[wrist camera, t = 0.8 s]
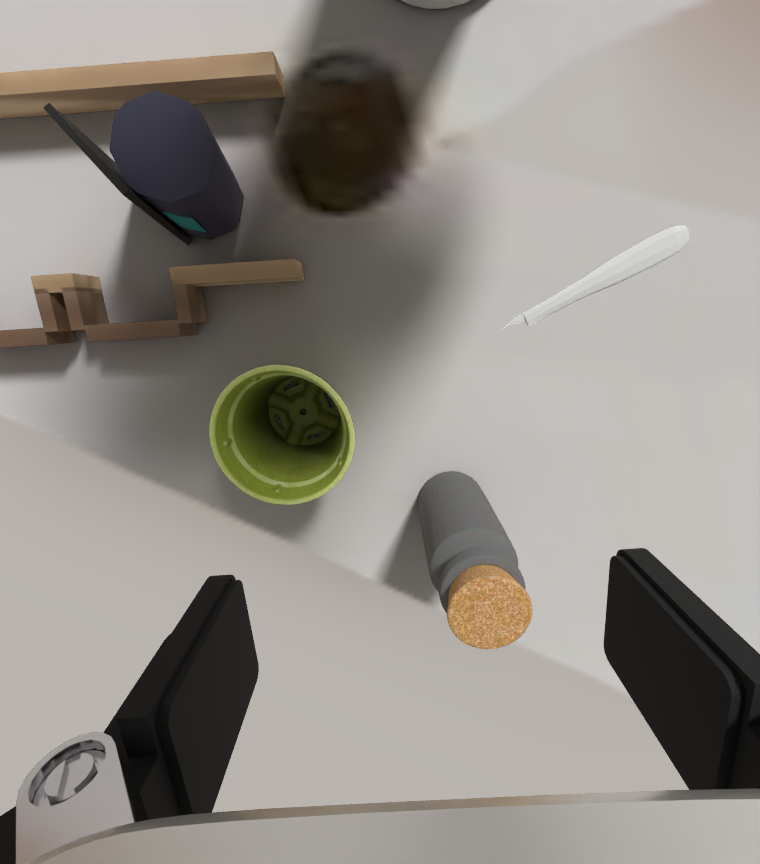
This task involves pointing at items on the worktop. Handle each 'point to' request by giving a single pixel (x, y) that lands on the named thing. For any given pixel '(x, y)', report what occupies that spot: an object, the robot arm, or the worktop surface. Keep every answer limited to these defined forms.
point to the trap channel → (108, 90)
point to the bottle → (472, 563)
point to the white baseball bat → (612, 272)
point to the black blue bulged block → (167, 165)
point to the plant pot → (281, 435)
